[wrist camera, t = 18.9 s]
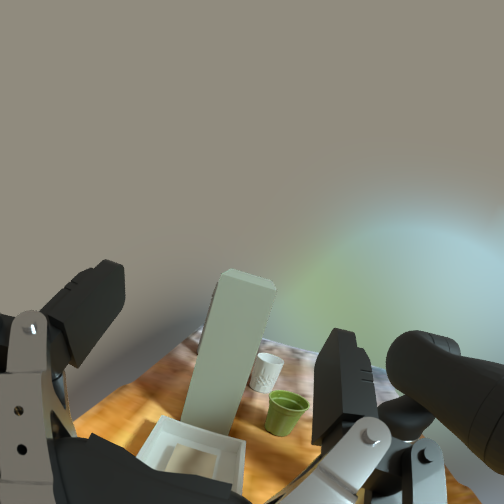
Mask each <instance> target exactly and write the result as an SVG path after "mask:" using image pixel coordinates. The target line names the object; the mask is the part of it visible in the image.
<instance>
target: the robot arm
mask: <svg viewBox="0 0 504 504" xmlns="http://www.w3.org/2000/svg"><path fill="white" fill-rule="evenodd" d="M124 302H125V277H124V267H123V265H121V264H118V263H115V262H113V261H110V260H106V259H105V260H103V261H102V262H100V263H99V264H98V265H97V266H96V267H95V268H94V269H93V268H89V269H86V270H84V271H82V272H80V273H78V274H77V275H76V276H75V277H74V278H73V279H72V280H71V282H69V283H68V284H67V285H66V286H65V287H64V289H61V290H60V291H59V292H58V293H57V294H56V295H55V296H54V297H53V298H52V299H51V300H50V301H49V302H48V303H47V304H46V305H45V306H44V307H43V308H42V309H41V310H40V311H39V312H38V311H34V310H30V311H25V312H22V313H20V314H19V315H18V316H16V317H12V316H8V315H3V314H0V504H252V503H251V502H250V501H248V500H247V499H246V498H244V497H243V496H241V495H239V494H238V493H236V492H234V491H231V489H232V484H231V483H226V482H222V481H218V480H214V479H210V478H206V477H203V476H199V475H195V474H183V473H173V472H164V471H158V470H155V469H153V468H151V467H149V466H148V465H146V464H145V463H144V462H142V461H141V460H139V459H138V458H136V457H135V456H134V455H132V454H131V453H129V452H128V451H127V450H125V449H124V448H122V447H120V446H118V445H116V444H114V443H112V442H110V441H107V440H105V439H103V438H101V437H99V436H97V435H96V434H94V433H91V435H90V437H89V439H87V438H80V437H77V434H76V430H75V427H74V424H73V422H72V419H71V415H70V410H69V402H68V394H67V385H66V375H65V371H64V369H65V367H66V366H67V365H68V364H70V365H72V366H74V367H76V368H79V367H80V365H81V364H82V363H83V361H84V360H85V358H86V357H87V356H88V354H89V353H90V351H91V350H92V349H93V347H94V346H95V345H96V343H97V342H98V340H99V339H100V338H101V337H102V335H103V334H104V333H105V331H106V330H107V328H108V327H109V326H110V325H111V323H112V322H113V321H114V319H115V318H116V317H117V315H118V314H119V313H120V312H121V310H122V308H123V305H124ZM371 372H372V368H371V363H370V359H369V357H368V355H367V354H366V352H365V350H364V349H363V348H359V347H357V343H356V336H355V333H354V332H350V331H347V330H342V329H338V328H334V329H333V330H332V331H331V333H330V335H329V337H328V339H327V341H326V342H325V344H324V346H323V348H322V350H321V351H320V353H319V355H318V357H317V359H316V363H315V367H314V397H313V423H312V441H311V445H317V446H321V454H320V455H319V456H318V457H317V458H316V459H315V460H314V461H313V462H312V463H311V464H310V465H309V466H308V467H307V468H306V469H304V470H303V471H302V472H301V473H300V474H299V475H298V476H297V477H296V478H295V479H294V480H293V481H291V482H290V483H289V484H288V485H287V486H286V487H285V488H283V489H282V490H281V491H280V492H278V493H277V494H276V495H274V496H273V497H272V498H270V499H269V500H268V501H267V502H265V503H264V504H447V493H446V480H445V470H444V461H443V454H442V451H441V448H440V447H439V445H438V444H437V443H436V442H435V441H433V440H431V439H428V438H422V439H419V437H420V436H421V434H422V432H423V431H424V430H425V429H426V428H427V427H428V426H429V425H430V424H431V423H432V422H433V420H434V419H435V417H436V418H437V419H438V420H439V421H440V422H441V423H442V424H443V425H444V426H445V427H447V428H448V429H449V430H450V431H451V432H452V433H454V434H455V435H456V436H457V437H458V438H459V439H460V440H461V441H462V442H463V443H464V444H465V445H466V446H467V447H468V448H469V449H470V450H471V451H472V452H473V453H474V454H475V455H476V456H477V457H478V458H480V459H481V460H482V461H483V462H484V463H485V464H486V465H487V466H488V467H490V468H491V469H492V470H493V471H495V472H496V473H498V474H501V475H504V365H502V364H499V363H495V362H490V361H485V360H480V359H475V358H469V357H463V356H461V353H460V348H459V345H458V344H457V343H456V342H455V341H454V340H453V339H450V338H448V337H444V336H440V335H435V334H432V333H428V332H424V331H418V330H415V331H408V332H405V333H403V334H402V335H400V336H399V337H397V338H396V339H395V341H394V342H393V343H392V344H391V346H390V348H389V350H388V353H387V357H386V372H387V376H388V378H389V381H390V382H391V384H392V385H393V386H394V387H395V388H396V389H397V390H399V391H401V392H402V393H404V394H405V395H403V396H401V397H399V398H396V399H393V400H390V401H386V402H383V403H382V404H380V405H379V406H378V407H377V402H376V395H375V388H374V383H373V375H372V374H371ZM418 439H419V440H418Z"/></svg>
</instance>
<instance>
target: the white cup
mask: <svg viewBox="0 0 504 504" xmlns="http://www.w3.org/2000/svg"><path fill="white" fill-rule="evenodd" d="M283 364H284V361H283V360H282V359H281V358H279V357H277V356H275V355H272V354H268V353H259V354H257V358H256V362H255V365H254V369H253V372H252V376H251V377H252V378H251V381H250V384H249V385H250V387H251V388H252V389H253V390H255V391H257V392H260V393H270V392H271V391H272V388H273V386H274V384H275V382H276V380H277V378H278V376H279V374H280V371H281V369H282V366H283Z"/></svg>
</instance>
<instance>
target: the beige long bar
mask: <svg viewBox="0 0 504 504" xmlns="http://www.w3.org/2000/svg"><path fill="white" fill-rule="evenodd" d="M216 458H217V455H213V454H210V453H206V452H203V451H200V450H197V449H193V448H190V447H187V446H184V445H181V444H178V443H177V445H176V447H175V449H174V451H173V454H172V456H171V458H170V460H169V462H168V464H167V467H166V469H165V471H164V472H173V473H183V474H195V475H199V476H203V477H206V478H210V479H212V476H213V471H214V467H215V463H216Z"/></svg>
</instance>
